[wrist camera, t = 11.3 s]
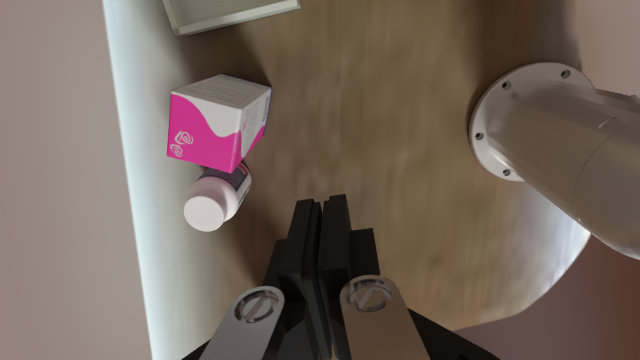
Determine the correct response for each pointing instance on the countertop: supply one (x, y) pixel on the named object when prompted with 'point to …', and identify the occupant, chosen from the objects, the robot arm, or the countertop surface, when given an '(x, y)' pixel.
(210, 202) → the pill bottle
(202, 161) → the supplement box
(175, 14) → the tray
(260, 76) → the countertop surface
